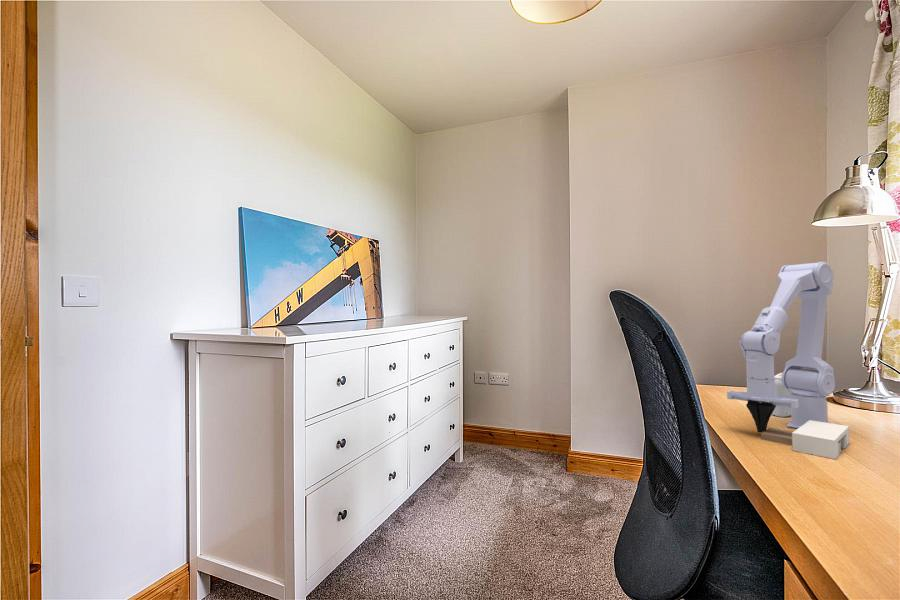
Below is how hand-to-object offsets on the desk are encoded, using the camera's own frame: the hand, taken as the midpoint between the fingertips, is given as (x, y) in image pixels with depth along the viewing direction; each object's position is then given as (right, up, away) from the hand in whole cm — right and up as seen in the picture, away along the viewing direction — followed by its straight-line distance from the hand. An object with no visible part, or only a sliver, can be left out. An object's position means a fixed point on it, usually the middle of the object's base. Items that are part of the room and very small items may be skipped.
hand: (761, 431), depth 106 cm
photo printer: (+22, -1, +20) cm, 29 cm away
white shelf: (+7, -1, -9) cm, 11 cm away
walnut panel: (+3, -1, -4) cm, 5 cm away
